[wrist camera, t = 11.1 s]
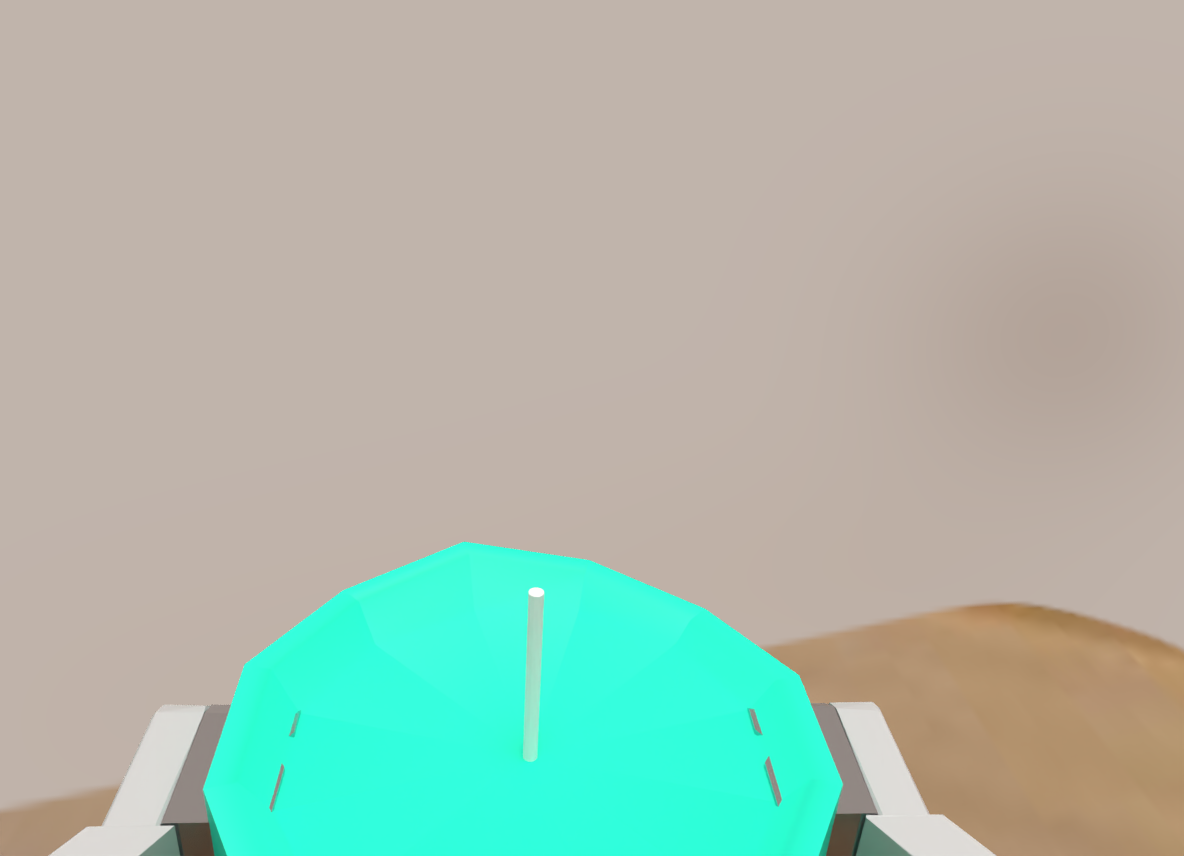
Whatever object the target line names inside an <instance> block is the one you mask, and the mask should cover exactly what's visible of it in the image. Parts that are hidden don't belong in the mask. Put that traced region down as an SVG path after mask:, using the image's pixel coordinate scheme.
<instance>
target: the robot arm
mask: <svg viewBox="0 0 1184 856" xmlns="http://www.w3.org/2000/svg"><path fill="white" fill-rule="evenodd" d="M810 704H811V706H812V708H813V711H814V713H815V716H816V718H817V721H818V723H819V726H820V728H821V731H822V733H823V736H824V738H825V741H826V743H827V746H828V748H829V751H830V753H831V756H832V758H833V761H834V763H835V766H836V768H837V771H838V773H839V775H840V778H841V780H842V783H843V787H842V791H841V795H840V799H839V804H838V808H837V811H836V815H835V819H834V823H833V827H832V832H831V836H830V840H829V845H828V849H827V853H826V856H996V855H995V854H994V853H992V852H991V851H990V850H988V849H987V848H986V847H984V846H983V845H982V844H980V843H979V842H978V841H977V840H975V839H974V838H973V837H971V836H970V835H969V834H967V833H966V832H965V831H963V830H962V829H961V828H960V827H958V826H957V825H956V824H954V823H953V822H952V821H950V820H949V819H948V818H946V817H945V816H944V815H930V814H929V812H928V810H927V808H926V806H925V804H924V802H923V799H922V797H921V795H920V793H919V791H918V789H917V787H916V785H915V782H914V780H913V778H912V776H911V774H910V772H909V770H908V768H907V766H906V763H905V761H904V759H903V757H902V755H901V753H900V751H899V749H898V746H897V744H896V742H895V740H894V738H893V736H892V734H891V732H890V730H889V727H888V725H887V723H886V721H885V719H884V717H883V715H882V713H881V710H880V708H879V707H878V706H876V705H875V704H874V703H873V702H841V703H829V704H825V703H810ZM230 707H231V705H211V706H195V705H193V706H192V705H163V706H162V707H161V708H160V709H159V710H158V711H157V712H156V713H155V714H154V715H153V717H152V719H151V721H150V723H149V725H148V727H147V730H146V732H145V734H144V736H143V738H142V740H141V743H140V745H139V747H138V749H137V751H136V753H135V755H134V757H133V760H132V762H131V764H130V766H129V768H128V771H127V773H126V775H125V777H124V779H123V781H122V783H121V785H120V788H119V790H118V792H117V794H116V796H115V798H114V801H113V803H112V805H111V807H110V809H109V811H108V814H107V816H106V818H105V820H104V822H103V824H102V826H98V827H86V828H84V829H83V830H82V831H80V832H79V833H78V834H76V835H75V836H74V837H73V838H71V839H70V840H69V841H67V842H66V843H65V844H63V845H62V846H61V847H59V848H58V849H57V850H55V851H54V852H53V853H51V854H50V855H49V856H214V850H213V844H212V838H211V831H210V825H209V821H208V817H207V811H206V805H205V799H204V793H203V788H204V785H205V782H206V779H207V776H208V773H209V770H210V767H211V764H212V761H213V758H214V755H215V752H216V749H217V746H218V743H219V740H220V737H221V734H222V731H223V728H224V725H225V722H226V719H227V716H228V713H229V710H230ZM747 710H748V713H749V716H750V720H751V723H752V727H753V730H754V734H756V735H757V736H759V735H763V734H762V731H761V728H760V725H759V723H758V720H757V716H756V713H755V710H754V709H753V708H747ZM300 715H301V710H300V711H298V712H297V713H296V714H295V717H294V721H293V724H292V727H291V731H290V734H289V736H290V737H293V738H294V737H295V733H296V729H297V726H298V722H299V718H300ZM764 768H765V771H766V774H767V778H768V781H769V784H770V788H771V791H772V794H773V797H774V801H775V804H776V806H778V807H779V805H780V803H781V801H782V797H781V794H780V790H779V787H778V784H777V780H776V777H775V774H774V771H773V767H772V764H771V761H770V757H769V756H768V758H767V760H766V761H765V765H764ZM284 773H285V767H284V765H283V764H281V768H280V771H279V775H278V779H277V783H276V786H275V790H274V794H273V797H272V800H271V803H270V806H269V808H270V810H271V812H273V811H274V808H275V804H276V801H277V797H278V794H279V791H280V787H281V784H282V780H283V777H284Z"/></svg>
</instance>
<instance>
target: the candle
mask: <svg viewBox="0 0 1184 856" xmlns="http://www.w3.org/2000/svg"><path fill="white" fill-rule="evenodd" d="M747 708H753V709H754V710H755V713H756V716H757V720H758V723H759V725H760V728H761V731H762V734H763V735H759V736H757V735H756V734H754V730H753V727H752V723H751V720H750V716H749V713H748V710H747ZM300 710H301V715H300V718H299V722H298V726H297V729H296V733H295V737H294V738H293V737H290V736H289V734H290V731H291V727H292V724H293V721H294V717H295V714H296V713H297V712H298V711H300ZM768 756H769V757H770V761H771V764H772V767H773V771H774V774H775V777H776V780H777V784H778V787H779V790H780V794H781V797H782V801H781V803H780V805H779V807H778V806H776V804H775V801H774V797H773V794H772V791H771V788H770V784H769V781H768V778H767V774H766V771H765V768H764V765H765V761H766V760H767V758H768ZM281 764H283V765H284V767H285V773H284V777H283V780H282V784H281V787H280V791H279V794H278V797H277V801H276V804H275V808H274V811H273V812H271V810H270V808H269V806H270V803H271V800H272V797H273V794H274V790H275V786H276V783H277V779H278V775H279V771H280V768H281ZM842 787H843V783H842V780H841V778H840V775H839V773H838V771H837V768H836V766H835V763H834V761H833V758H832V756H831V753H830V751H829V748H828V746H827V743H826V741H825V738H824V736H823V733H822V731H821V728H820V726H819V723H818V721H817V718H816V716H815V713H814V711H813V708H812V706H811V704H810V701H809V699H808V696H807V694H806V691H805V689H804V686H803V684H802V681H801V679H800V676H799V675H798V674H796V673H795V672H794V671H792V670H791V669H789V668H788V667H786V666H785V665H784V664H782V663H781V662H779V661H778V660H777V659H775V658H774V657H772V656H771V655H770V654H768V653H767V652H765V651H764V650H762V649H761V648H760V647H758V646H757V645H755V644H754V643H753V642H751V641H750V640H748V639H747V638H745V637H744V636H743V635H741V634H740V633H738V632H737V631H736V630H734V629H733V628H731V627H730V626H729V625H727V624H726V623H724V622H723V621H721V620H720V619H719V618H717V617H716V616H714V615H713V614H712V613H710V612H709V611H707V610H706V609H704V608H702V607H700V606H697V605H695V604H692V603H690V602H688V601H685V600H683V599H680V598H678V597H676V596H673V595H671V594H669V593H666V592H664V591H661V590H659V589H657V588H654V587H652V586H650V585H647V584H644V583H642V582H640V581H638V580H635V579H633V578H630V577H628V576H626V575H623V574H621V573H618V572H616V571H614V570H611V569H609V568H606V567H604V566H602V565H599V564H597V563H595V562H592V561H590V560H584V559H578V558H571V557H564V556H557V555H550V554H544V553H537V552H530V551H523V550H517V549H509V548H503V547H496V546H490V545H483V544H476V543H469V542H462V543H460V544H457V545H455V546H452V547H450V548H447V549H445V550H442V551H440V552H437V553H435V554H432V555H430V556H427V557H425V558H422V559H420V560H418V561H415V562H412V563H410V564H408V565H405V566H403V567H400V568H398V569H395V570H392V571H390V572H388V573H386V574H383V575H380V576H378V577H375V578H373V579H370V580H368V581H365V582H363V583H361V584H358V585H356V586H353V587H350V588H348V589H345V590H343V591H342V592H340V593H339V594H338V595H336V596H335V597H334V598H332V599H331V600H330V601H328V602H327V603H326V604H324V605H323V606H322V607H320V608H319V609H318V610H316V611H315V612H314V613H312V614H311V615H310V616H308V617H307V618H306V619H304V620H303V621H302V622H300V623H299V624H298V625H297V626H295V627H294V628H293V629H291V630H290V631H288V632H287V633H286V634H285V635H283V636H282V637H281V638H279V639H278V640H277V641H275V642H274V643H273V644H271V645H270V646H269V647H267V648H266V649H265V650H263V651H262V652H261V653H259V654H258V655H257V656H256V657H254V658H253V659H251V660H250V661H249V662H247V663H246V664H245V665H244V668H243V671H242V674H241V677H240V680H239V683H238V686H237V689H236V692H235V695H234V698H233V701H232V704H231V707H230V710H229V713H228V716H227V719H226V722H225V725H224V728H223V731H222V734H221V737H220V740H219V743H218V746H217V749H216V752H215V755H214V758H213V761H212V764H211V767H210V770H209V773H208V776H207V779H206V782H205V785H204V788H203V793H204V799H205V805H206V811H207V817H208V821H209V825H210V831H211V838H212V844H213V850H214V856H826V853H827V849H828V845H829V840H830V836H831V832H832V827H833V823H834V819H835V815H836V811H837V808H838V804H839V799H840V795H841V791H842Z"/></svg>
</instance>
